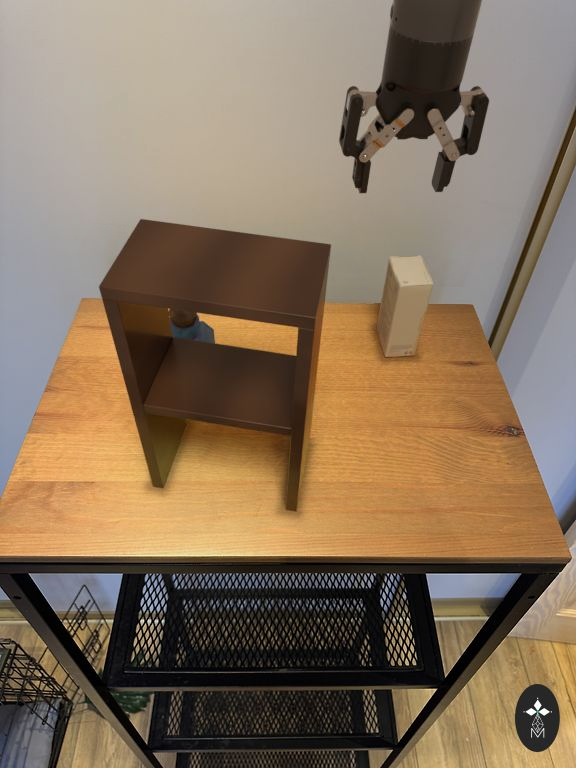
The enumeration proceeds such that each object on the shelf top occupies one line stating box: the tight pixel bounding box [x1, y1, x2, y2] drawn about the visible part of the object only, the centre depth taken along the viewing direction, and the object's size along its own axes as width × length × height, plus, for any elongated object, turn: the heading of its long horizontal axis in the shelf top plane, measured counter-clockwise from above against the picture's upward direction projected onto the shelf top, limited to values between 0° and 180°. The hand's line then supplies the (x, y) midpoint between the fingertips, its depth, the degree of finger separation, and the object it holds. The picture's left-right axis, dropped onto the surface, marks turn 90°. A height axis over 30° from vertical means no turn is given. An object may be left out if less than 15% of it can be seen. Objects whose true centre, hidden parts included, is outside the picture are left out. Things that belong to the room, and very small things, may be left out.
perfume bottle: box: [168, 308, 216, 343], centre depth 68 cm, size 6×6×12 cm
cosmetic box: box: [376, 255, 434, 358], centre depth 75 cm, size 6×4×12 cm
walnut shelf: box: [98, 218, 332, 513], centre depth 54 cm, size 16×9×28 cm, turn 80°
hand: (399, 189), depth 63 cm, fingers open, 8 cm apart
